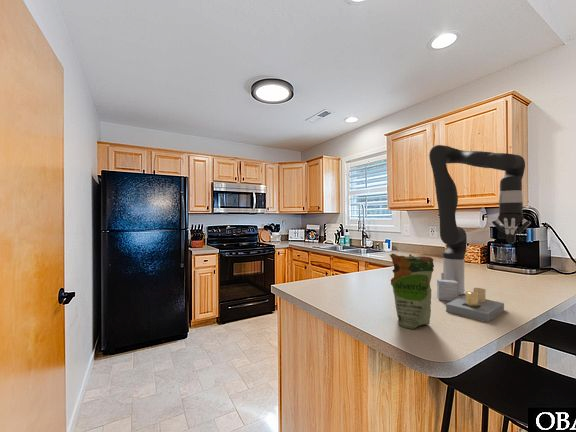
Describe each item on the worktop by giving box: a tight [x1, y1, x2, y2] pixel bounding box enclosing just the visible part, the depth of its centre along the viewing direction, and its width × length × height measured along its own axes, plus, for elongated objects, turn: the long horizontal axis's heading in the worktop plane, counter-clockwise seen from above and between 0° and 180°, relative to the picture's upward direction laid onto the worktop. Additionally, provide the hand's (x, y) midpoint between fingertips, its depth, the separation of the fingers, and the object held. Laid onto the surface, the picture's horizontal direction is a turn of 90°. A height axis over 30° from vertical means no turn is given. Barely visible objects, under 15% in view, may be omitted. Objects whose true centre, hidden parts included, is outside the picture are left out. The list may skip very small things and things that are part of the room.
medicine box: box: [436, 279, 460, 302], centre depth 122 cm, size 8×4×9 cm, turn 71°
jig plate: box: [445, 287, 505, 323], centre depth 108 cm, size 14×20×8 cm
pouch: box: [389, 253, 435, 330], centre depth 94 cm, size 11×12×25 cm
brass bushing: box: [465, 291, 478, 309], centre depth 105 cm, size 4×4×8 cm
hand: (510, 243), depth 111 cm, fingers closed
